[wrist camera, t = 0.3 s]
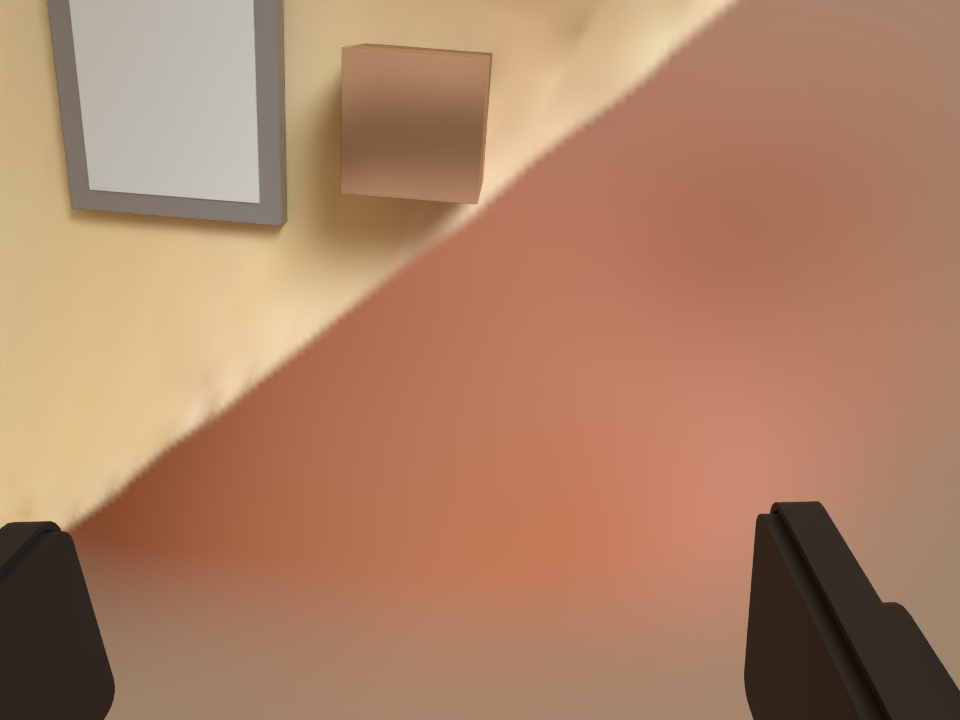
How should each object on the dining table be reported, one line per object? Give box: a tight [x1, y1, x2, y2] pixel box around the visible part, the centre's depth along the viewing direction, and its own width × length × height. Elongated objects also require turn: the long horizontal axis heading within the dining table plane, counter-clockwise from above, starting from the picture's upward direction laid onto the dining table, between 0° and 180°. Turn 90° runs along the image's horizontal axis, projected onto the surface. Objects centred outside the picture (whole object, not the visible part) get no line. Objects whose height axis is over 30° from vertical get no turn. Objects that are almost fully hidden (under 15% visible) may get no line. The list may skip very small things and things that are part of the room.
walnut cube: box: [341, 44, 492, 204], centre depth 35 cm, size 6×6×6 cm
